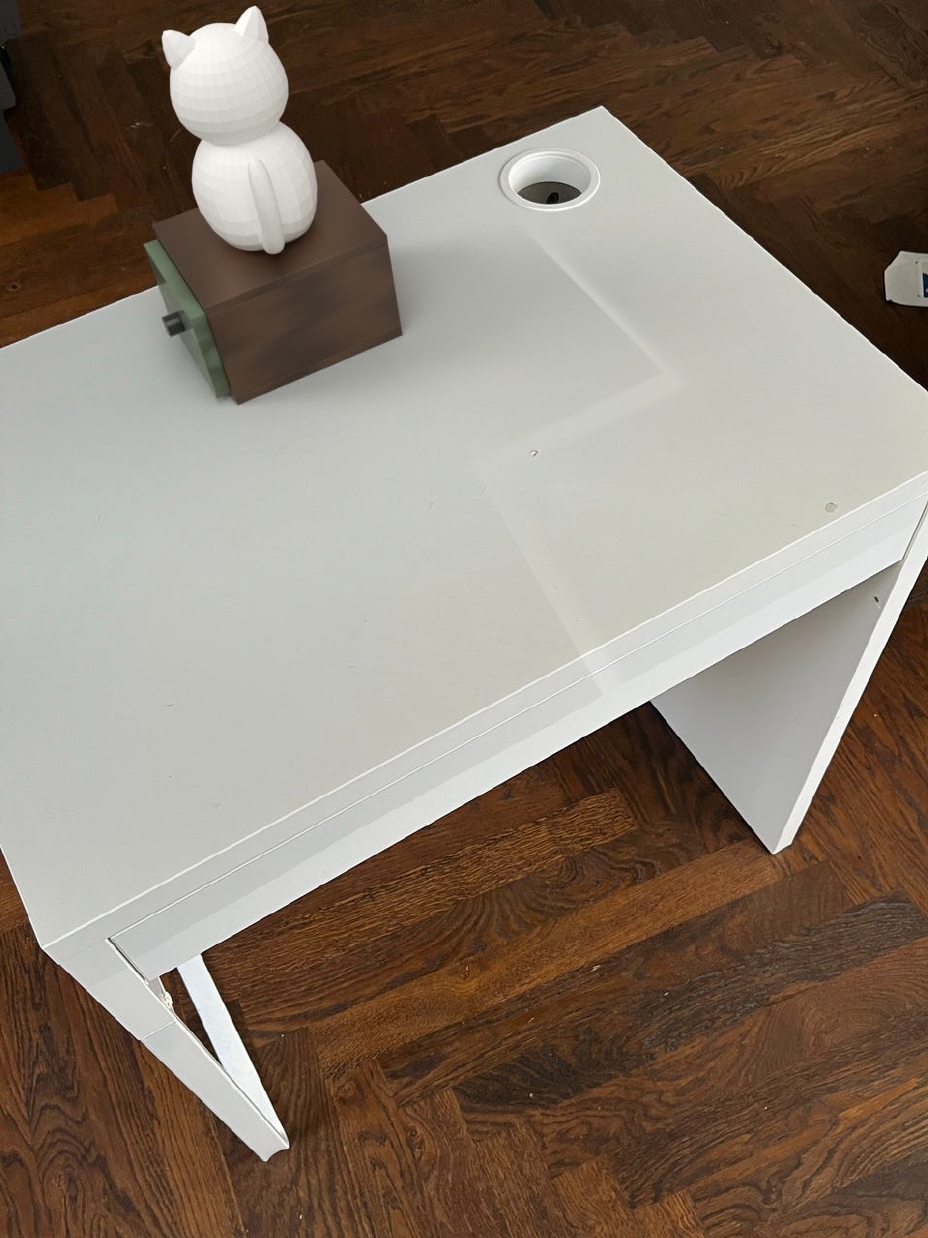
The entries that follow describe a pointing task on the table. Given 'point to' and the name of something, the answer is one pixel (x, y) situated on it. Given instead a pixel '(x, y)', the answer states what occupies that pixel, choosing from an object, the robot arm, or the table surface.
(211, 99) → the cat figurine
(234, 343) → the cabinet
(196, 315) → the drawer
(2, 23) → the robot arm
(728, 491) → the table surface
